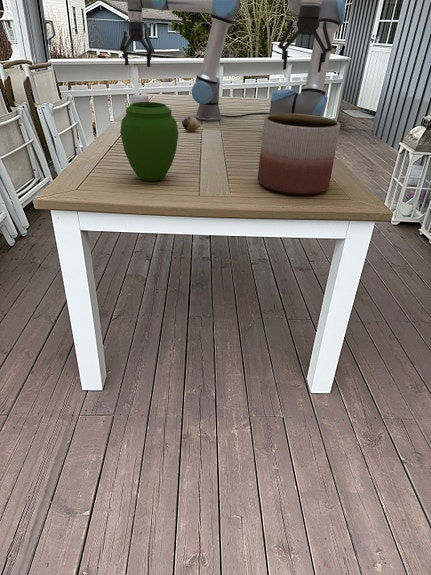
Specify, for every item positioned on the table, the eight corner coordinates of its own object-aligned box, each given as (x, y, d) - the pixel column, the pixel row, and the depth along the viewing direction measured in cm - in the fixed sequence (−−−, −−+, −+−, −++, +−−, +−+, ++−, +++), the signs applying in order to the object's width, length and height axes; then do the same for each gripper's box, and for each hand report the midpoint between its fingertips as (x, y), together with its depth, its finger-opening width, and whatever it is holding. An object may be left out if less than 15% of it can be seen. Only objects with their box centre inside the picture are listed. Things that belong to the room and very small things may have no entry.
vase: (131, 189, 135) (125, 110, 122) (118, 172, 150) (112, 100, 137) (186, 184, 142) (187, 109, 129) (169, 168, 157) (167, 99, 144)
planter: (340, 197, 138) (354, 128, 126) (267, 198, 134) (276, 127, 122) (313, 174, 159) (323, 113, 147) (249, 174, 155) (255, 112, 143)
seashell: (199, 130, 220) (199, 114, 215) (200, 132, 215) (200, 116, 211) (181, 130, 218) (181, 114, 214) (182, 132, 214) (182, 116, 209)
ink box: (137, 115, 250) (136, 94, 244) (149, 116, 248) (149, 95, 242) (130, 117, 243) (129, 96, 237) (143, 118, 241) (142, 97, 235)
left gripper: (111, 20, 220) (114, 64, 231) (153, 22, 214) (155, 68, 225) (118, 20, 226) (121, 64, 237) (159, 22, 220) (160, 67, 231)
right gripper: (275, 3, 149) (268, 69, 160) (345, 5, 143) (333, 73, 155) (278, 4, 155) (272, 67, 166) (346, 7, 149) (334, 72, 161)
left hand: (137, 66), depth 231 cm, fingers open, 13 cm apart
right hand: (301, 70), depth 161 cm, fingers open, 13 cm apart
